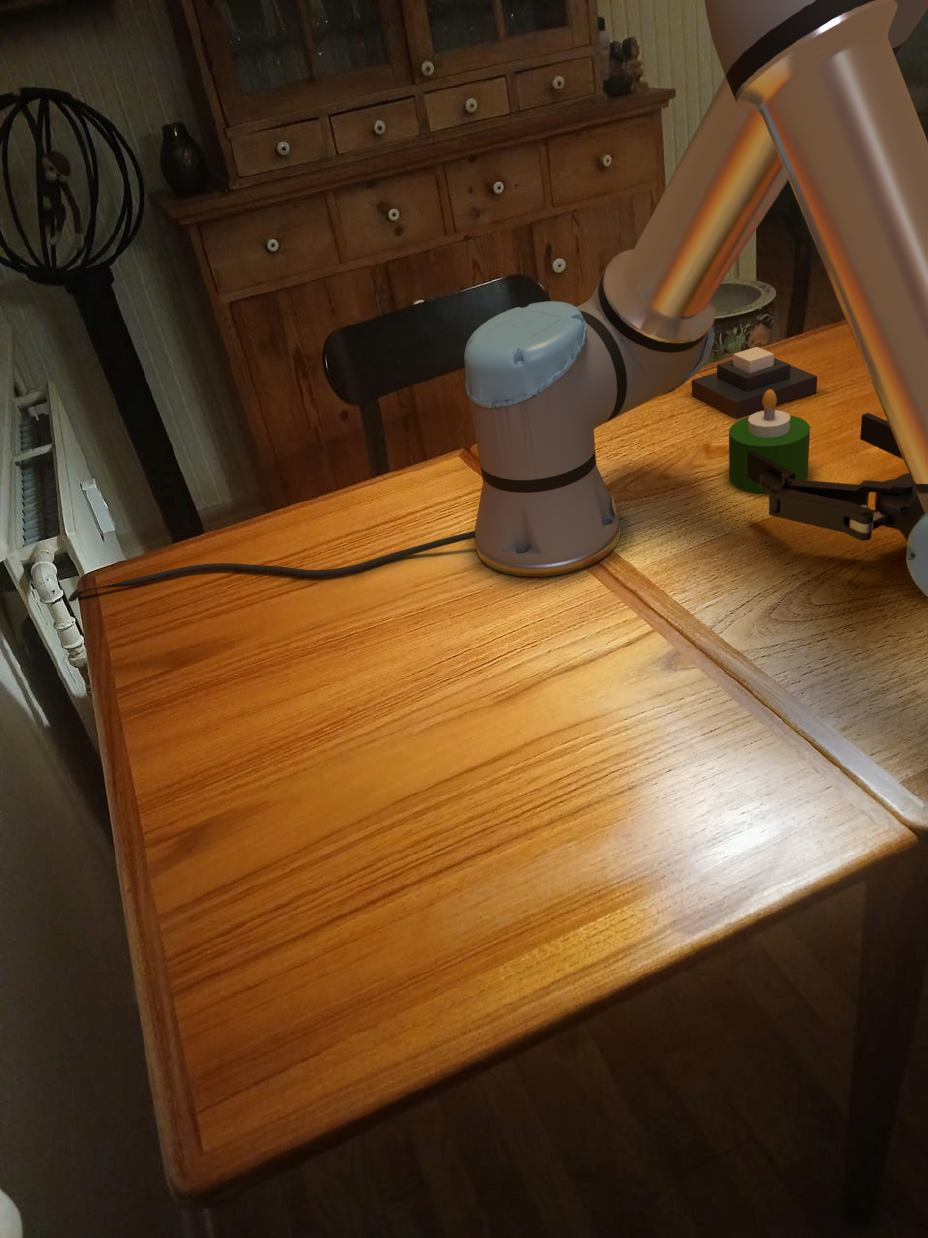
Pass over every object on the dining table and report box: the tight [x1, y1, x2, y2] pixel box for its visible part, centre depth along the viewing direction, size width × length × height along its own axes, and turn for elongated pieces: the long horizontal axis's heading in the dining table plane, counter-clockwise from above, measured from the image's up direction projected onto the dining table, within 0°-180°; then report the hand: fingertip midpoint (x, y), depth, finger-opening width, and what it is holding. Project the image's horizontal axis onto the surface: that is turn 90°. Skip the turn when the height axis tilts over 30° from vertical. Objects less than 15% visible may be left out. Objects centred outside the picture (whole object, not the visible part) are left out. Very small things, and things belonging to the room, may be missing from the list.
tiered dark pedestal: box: [691, 357, 818, 419], centre depth 122 cm, size 12×10×4 cm
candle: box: [728, 389, 811, 494], centre depth 102 cm, size 8×8×10 cm
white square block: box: [732, 346, 775, 373], centre depth 121 cm, size 4×4×2 cm
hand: (807, 444), depth 96 cm, fingers open, 13 cm apart
